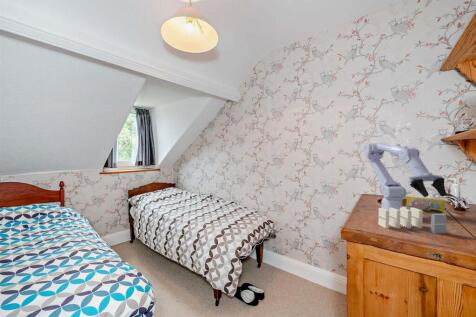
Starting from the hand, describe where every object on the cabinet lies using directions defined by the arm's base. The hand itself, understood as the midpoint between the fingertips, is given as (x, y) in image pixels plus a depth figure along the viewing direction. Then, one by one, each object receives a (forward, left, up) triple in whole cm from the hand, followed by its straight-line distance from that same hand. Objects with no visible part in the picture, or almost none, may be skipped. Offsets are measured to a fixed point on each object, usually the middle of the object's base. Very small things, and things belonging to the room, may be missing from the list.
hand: (435, 195), depth 93 cm
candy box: (-27, +19, -16) cm, 37 cm away
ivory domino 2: (-7, -12, -16) cm, 21 cm away
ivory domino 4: (-7, -2, -16) cm, 17 cm away
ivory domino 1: (-7, -17, -16) cm, 24 cm away
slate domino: (+1, +1, -16) cm, 16 cm away
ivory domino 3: (-7, -7, -16) cm, 19 cm away
